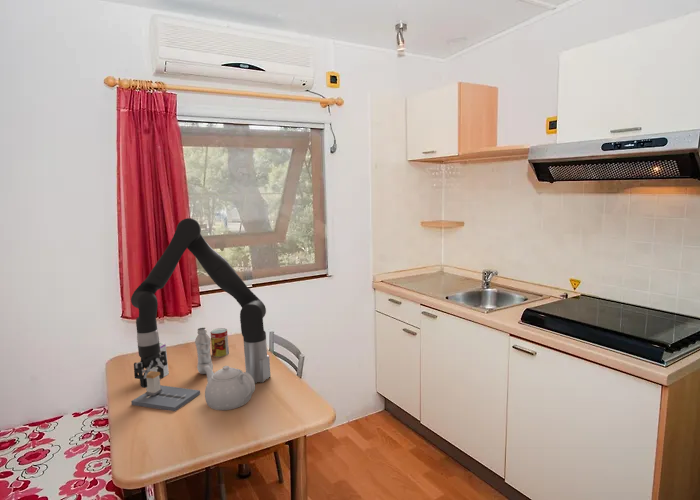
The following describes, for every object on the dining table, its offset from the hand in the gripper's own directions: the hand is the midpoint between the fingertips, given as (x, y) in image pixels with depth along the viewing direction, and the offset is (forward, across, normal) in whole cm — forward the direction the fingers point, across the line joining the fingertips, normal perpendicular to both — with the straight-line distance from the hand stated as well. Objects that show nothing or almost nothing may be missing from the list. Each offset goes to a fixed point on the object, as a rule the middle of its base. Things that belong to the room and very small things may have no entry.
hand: (152, 382), depth 164 cm
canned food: (+6, +46, +2) cm, 47 cm away
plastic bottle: (+6, +25, -5) cm, 26 cm away
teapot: (+7, +5, -31) cm, 32 cm away
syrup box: (+6, +17, +13) cm, 23 cm away
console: (+6, 0, -6) cm, 8 cm away
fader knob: (+4, 0, 0) cm, 4 cm away
